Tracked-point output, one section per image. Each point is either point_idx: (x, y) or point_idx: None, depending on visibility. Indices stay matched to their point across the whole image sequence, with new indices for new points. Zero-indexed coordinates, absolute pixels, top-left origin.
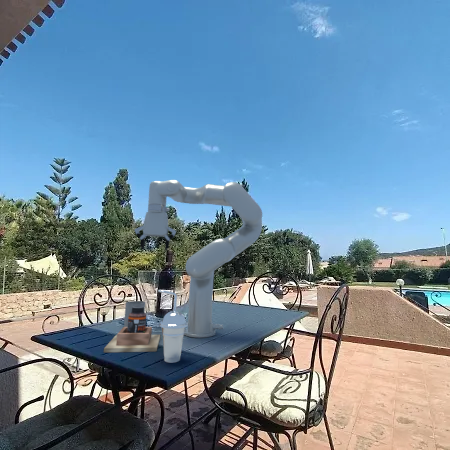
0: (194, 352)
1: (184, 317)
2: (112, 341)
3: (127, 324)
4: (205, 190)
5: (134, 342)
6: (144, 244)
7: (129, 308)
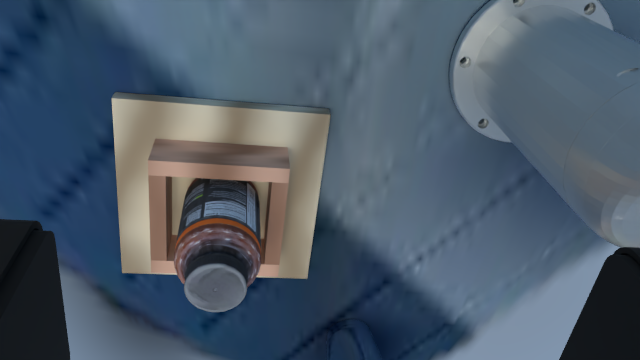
0: (427, 288)
1: None
2: (127, 197)
3: None
4: None
5: None
6: (1, 337)
7: None
